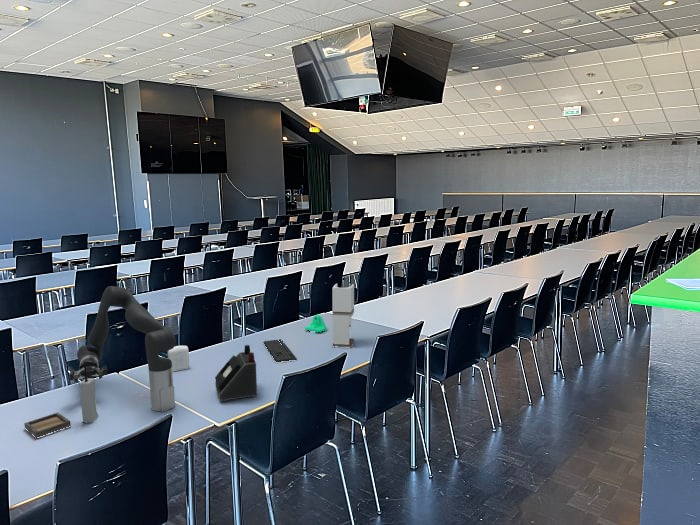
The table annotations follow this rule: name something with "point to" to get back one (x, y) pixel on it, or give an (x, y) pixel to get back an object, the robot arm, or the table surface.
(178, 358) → the photo printer
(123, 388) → the table surface
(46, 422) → the brown square tray
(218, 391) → the voltmeter
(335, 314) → the tall grey pillar
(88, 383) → the vintage mobile phone
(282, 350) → the keyboard
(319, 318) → the green draped cloth
